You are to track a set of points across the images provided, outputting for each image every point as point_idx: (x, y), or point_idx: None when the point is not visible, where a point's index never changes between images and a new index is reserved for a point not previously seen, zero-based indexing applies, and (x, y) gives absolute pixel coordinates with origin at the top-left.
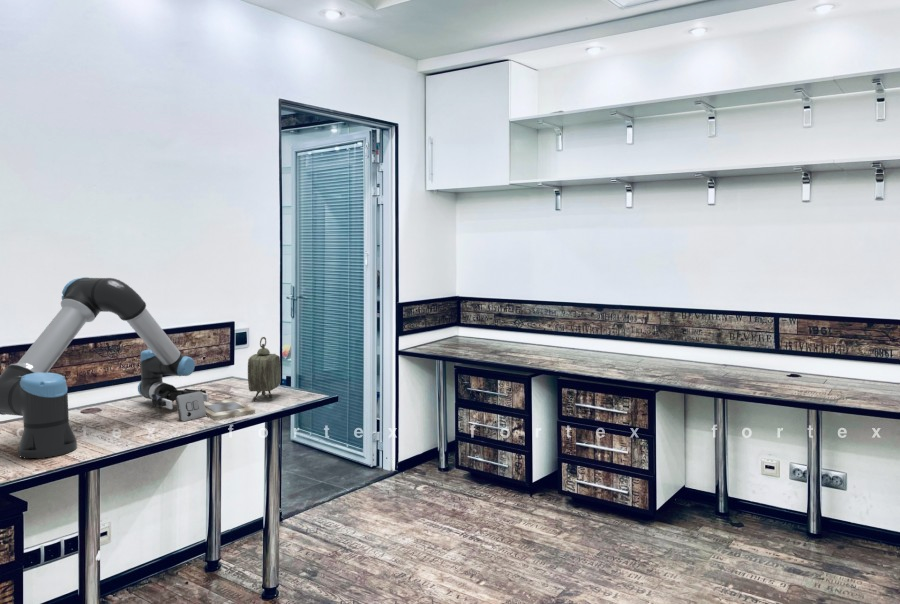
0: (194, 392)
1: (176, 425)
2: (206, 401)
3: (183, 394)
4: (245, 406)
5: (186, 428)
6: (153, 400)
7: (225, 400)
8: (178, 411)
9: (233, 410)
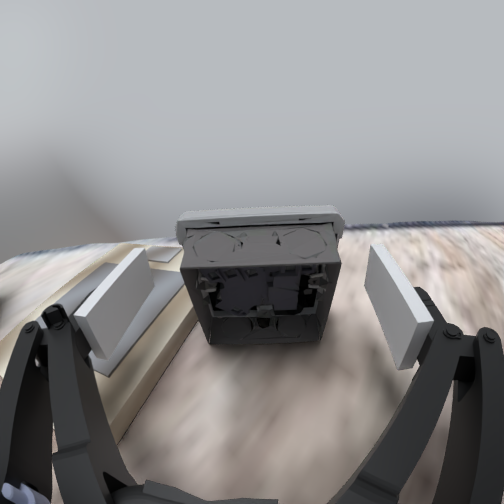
0: (224, 210)
1: (357, 287)
2: (152, 288)
3: (107, 460)
4: (89, 270)
5: (339, 254)
6: (487, 330)
7: (2, 369)
8: (326, 310)
9: (149, 257)
